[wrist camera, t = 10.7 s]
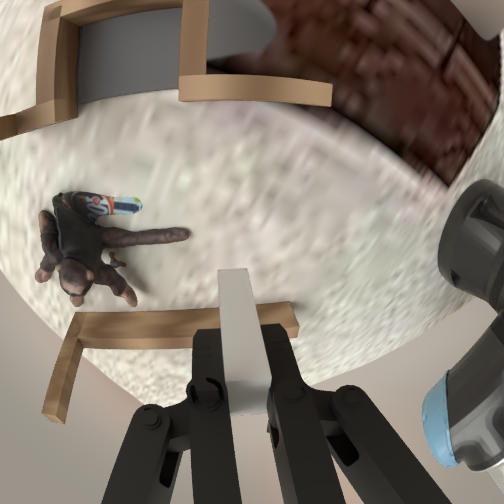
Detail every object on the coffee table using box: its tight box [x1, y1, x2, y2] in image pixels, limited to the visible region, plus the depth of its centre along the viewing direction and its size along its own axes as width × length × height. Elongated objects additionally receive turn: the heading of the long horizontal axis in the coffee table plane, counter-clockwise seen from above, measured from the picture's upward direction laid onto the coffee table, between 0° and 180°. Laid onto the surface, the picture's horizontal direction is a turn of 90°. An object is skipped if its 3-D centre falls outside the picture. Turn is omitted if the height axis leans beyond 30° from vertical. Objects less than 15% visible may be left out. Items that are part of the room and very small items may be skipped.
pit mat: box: [78, 8, 182, 104], centre depth 13 cm, size 7×6×1 cm
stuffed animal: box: [35, 191, 189, 307], centre depth 20 cm, size 12×10×12 cm
